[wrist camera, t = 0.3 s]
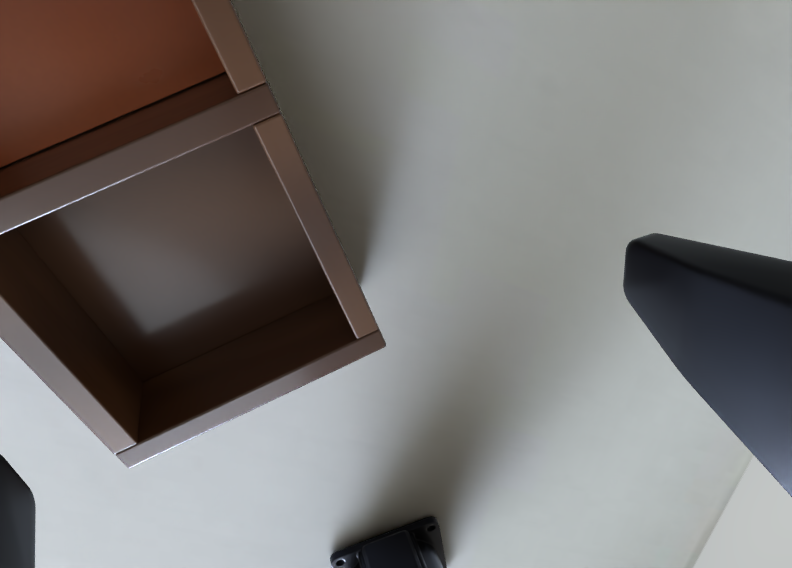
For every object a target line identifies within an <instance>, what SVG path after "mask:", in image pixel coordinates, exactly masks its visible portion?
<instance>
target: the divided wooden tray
mask: <svg viewBox="0 0 792 568" xmlns="http://www.w3.org/2000/svg"><path fill="white" fill-rule="evenodd" d="M0 337H1V339H2V340H3V341H4V342H5V343H6V344H7V345H8V346H9V347H10V348H11V349H12V350H13V351H14V352H15V353H16V354H17V355H18V356H19V357H20V358H21V359H22V360H23V361H24V362H25V363H26V364H27V365H28V366H29V367H30V368H31V369H32V370H33V371H34V372H35V373H36V374H37V375H38V377H39V378H40V379H41V380H42V381H43V382H44V383H45V384H46V385H47V386H48V387H49V388H50V389H51V390H52V391H53V392H54V393H55V394H56V395H57V396H58V397H59V398H60V399H61V400H62V401H63V402H64V403H65V404H66V405H67V406H68V407H69V408H70V409H71V410H72V411H73V412H74V413H75V415H76V416H77V417H78V418H79V419H80V420H81V421H82V422H83V423H84V424H85V425H86V426H87V427H88V428H89V429H90V430H91V431H92V432H93V433H94V434H95V435H96V436H97V437H98V438H99V439H100V440H101V441H102V442H103V443H104V444H105V445H106V446H107V447H108V448H109V449H110V450H111V451H112V452H113V453H114V454H116V456H117V457H118V458H119V459H120V460H121V461H122V462H123V463H124V464H125V465H126V466H127V467H128V468H131V467H133V466H135V465H137V464H139V463H142V462H144V461H146V460H148V459H150V458H152V457H154V456H156V455H158V454H161V453H163V452H165V451H167V450H169V449H171V448H173V447H175V446H177V445H179V444H182V443H184V442H186V441H188V440H190V439H192V438H194V437H196V436H198V435H201V434H203V433H205V432H207V431H209V430H211V429H213V428H215V427H217V426H220V425H222V424H224V423H226V422H228V421H230V420H232V419H234V418H236V417H238V416H241V415H243V414H245V413H247V412H249V411H251V410H253V409H255V408H257V407H260V406H262V405H264V404H266V403H268V402H270V401H272V400H274V399H276V398H279V397H281V396H283V395H285V394H287V393H289V392H291V391H293V390H295V389H297V388H300V387H302V386H304V385H306V384H308V383H310V382H312V381H314V380H316V379H319V378H321V377H323V376H325V375H327V374H329V373H331V372H333V371H335V370H338V369H340V368H342V367H344V366H346V365H348V364H350V363H352V362H354V361H356V360H359V359H361V358H363V357H365V356H367V355H369V354H371V353H373V352H375V351H378V350H380V349H382V348H384V347H385V346H386V343H385V340H384V338H383V336H382V334H381V332H380V329H379V327H378V325H377V323H376V321H375V318H374V316H373V314H372V312H371V310H370V307H369V305H368V303H367V301H366V298H365V296H364V294H363V292H362V290H361V287H360V285H359V283H358V281H357V279H356V276H355V274H354V272H353V270H352V267H351V265H350V263H349V261H348V259H347V256H346V254H345V252H344V250H343V248H342V245H341V243H340V241H339V239H338V237H337V234H336V232H335V230H334V228H333V225H332V223H331V221H330V219H329V217H328V214H327V212H326V210H325V208H324V206H323V203H322V201H321V199H320V197H319V195H318V192H317V190H316V188H315V186H314V183H313V181H312V179H311V177H310V175H309V172H308V170H307V168H306V166H305V164H304V161H303V159H302V157H301V155H300V153H299V150H298V148H297V146H296V144H295V141H294V139H293V137H292V135H291V133H290V130H289V128H288V126H287V124H286V122H285V119H284V117H283V115H282V113H281V111H280V108H279V106H278V104H277V102H276V99H275V97H274V95H273V93H272V91H271V88H270V86H269V84H268V82H267V81H266V77H265V75H264V73H263V71H262V69H261V66H260V64H259V62H258V60H257V57H256V55H255V53H254V51H253V49H252V46H251V44H250V42H249V40H248V38H247V35H246V33H245V31H244V29H243V27H242V24H241V22H240V20H239V18H238V15H237V13H236V11H235V9H234V7H233V4H232V2H231V0H0Z"/></svg>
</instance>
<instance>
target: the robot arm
mask: <svg viewBox="0 0 792 568" xmlns="http://www.w3.org/2000/svg"><path fill="white" fill-rule="evenodd" d="M623 287H624V292H625V296H626V298H627V300H628V301H629V303H630V304H631V306H632V307H633V308H634V310H635V311H636V312H637V314H638V315H639V317H640V318H641V319H642V321H643V322H644V323H645V325H646V326H647V328H648V329H649V330H650V332H651V333H652V335H653V336H654V337H655V339H656V340H657V341H658V343H659V344H660V346H661V347H662V348H663V350H664V351H665V352H666V354H667V355H668V357H669V358H670V359H671V361H672V362H673V363H674V365H675V366H676V367H677V369H678V370H679V371H680V372H681V374H682V375H683V376H684V377H685V379H686V380H687V381H688V382H689V383H690V384H691V386H692V387H693V388H694V389H695V390H696V391H697V392H698V394H699V395H700V396H701V397H702V398H703V399H704V400H705V401H706V402H707V404H708V405H709V406H710V407H711V408H712V409H713V410H714V411H715V412H716V413H717V415H718V416H719V417H720V418H721V419H722V420H723V421H724V422H725V423H726V425H727V426H728V427H729V428H730V429H731V430H732V431H733V432H734V433H735V435H736V436H737V437H738V438H739V439H740V440H741V441H742V442H743V443H744V445H745V446H746V447H747V448H748V449H749V450H750V451H751V452H752V453H753V454H754V456H755V457H756V458H757V459H758V460H759V461H760V462H761V463H762V464H763V466H764V467H765V468H766V469H767V470H768V471H769V472H770V473H771V474H772V475H773V477H774V478H775V479H776V480H777V481H778V482H779V483H780V484H781V486H783V488H784V489H785V490H786V491H787V492H788V493H789V494H790V496H791V497H792V262H791V261H787V260H782V259H777V258H772V257H768V256H763V255H758V254H753V253H749V252H744V251H739V250H734V249H730V248H725V247H720V246H715V245H711V244H706V243H701V242H696V241H692V240H687V239H682V238H677V237H673V236H668V235H663V234H658V233H653V234H649V235H646V236H643V237H640V238H637V239H634V240H632V241H631V242H629V244H628V245H627V247H626V255H625V268H624V281H623ZM330 561H331V566H332V568H447V567H446V562H445V556H444V550H443V545H442V539H441V534H440V528H439V524H438V522H437V520H436V518H435V517H428V518H425V519H422V520H420V521H417V522H414V523H412V524H409V525H406V526H404V527H401V528H399V529H396V530H393V531H391V532H388V533H385V534H383V535H380V536H377V537H375V538H372V539H369V540H367V541H364V542H361V543H359V544H356V545H353V546H351V547H348V548H345V549H343V550H340V551H337V552H335V553H333V554H332V555H331V557H330ZM0 568H35V501H34V497H33V494H32V492H31V490H30V488H29V487H28V486H27V484H26V483H25V482H24V481H23V480H22V478H21V477H20V476H19V475H18V474H17V473H16V471H15V470H14V469H13V468H12V467H11V465H10V464H9V463H8V462H7V461H6V460H5V458H4V457H3V456H2V455H1V454H0Z"/></svg>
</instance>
